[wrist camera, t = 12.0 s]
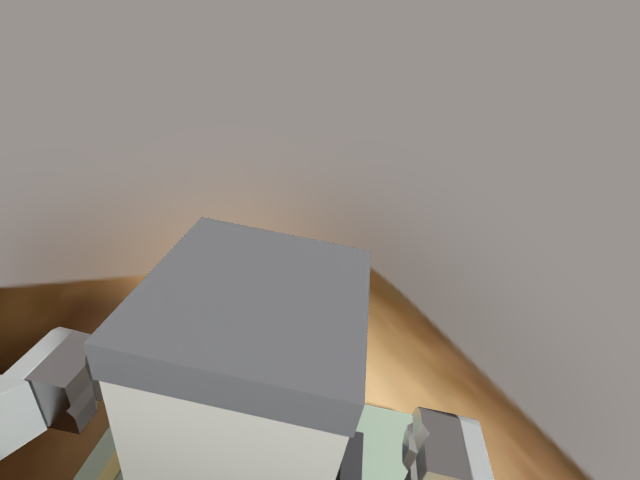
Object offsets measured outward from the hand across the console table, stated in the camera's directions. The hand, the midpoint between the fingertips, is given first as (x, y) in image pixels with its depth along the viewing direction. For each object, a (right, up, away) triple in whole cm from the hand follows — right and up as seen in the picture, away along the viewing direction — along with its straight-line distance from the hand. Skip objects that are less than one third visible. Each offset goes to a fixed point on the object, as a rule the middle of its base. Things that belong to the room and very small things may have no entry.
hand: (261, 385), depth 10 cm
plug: (-1, -7, +3) cm, 8 cm away
